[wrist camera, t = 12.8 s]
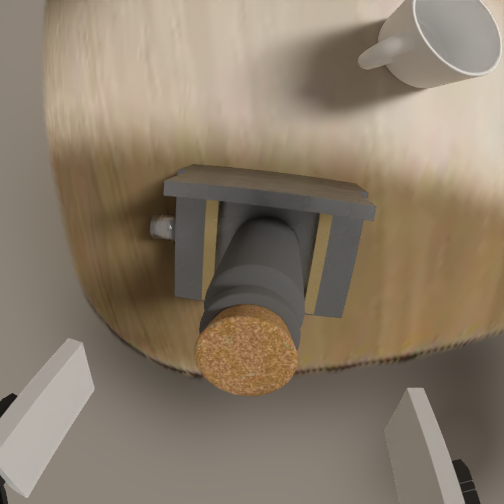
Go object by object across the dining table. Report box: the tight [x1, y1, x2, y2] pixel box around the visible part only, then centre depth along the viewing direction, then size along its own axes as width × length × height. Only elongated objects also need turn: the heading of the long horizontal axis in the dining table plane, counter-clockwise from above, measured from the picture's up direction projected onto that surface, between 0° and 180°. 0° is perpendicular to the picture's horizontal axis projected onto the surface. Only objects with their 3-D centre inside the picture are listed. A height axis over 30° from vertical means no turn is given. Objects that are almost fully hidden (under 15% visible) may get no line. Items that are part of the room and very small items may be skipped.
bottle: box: [194, 217, 305, 396], centre depth 21 cm, size 6×6×15 cm
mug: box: [358, 0, 502, 88], centre depth 20 cm, size 12×8×10 cm
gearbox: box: [150, 164, 376, 318], centre depth 28 cm, size 12×19×11 cm, turn 84°
